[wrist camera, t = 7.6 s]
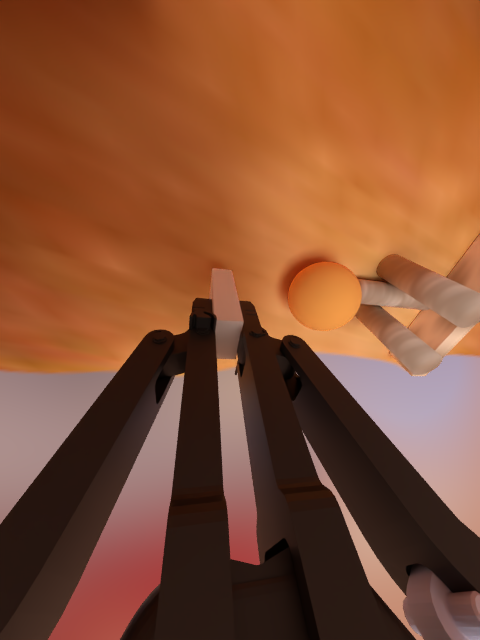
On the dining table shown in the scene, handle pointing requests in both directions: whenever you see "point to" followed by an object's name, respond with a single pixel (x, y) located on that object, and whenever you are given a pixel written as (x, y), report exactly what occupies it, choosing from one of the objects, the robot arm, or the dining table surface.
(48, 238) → the dining table surface
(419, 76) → the dining table surface
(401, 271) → the pin
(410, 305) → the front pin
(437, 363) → the pin
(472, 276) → the back wall
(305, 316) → the ball
